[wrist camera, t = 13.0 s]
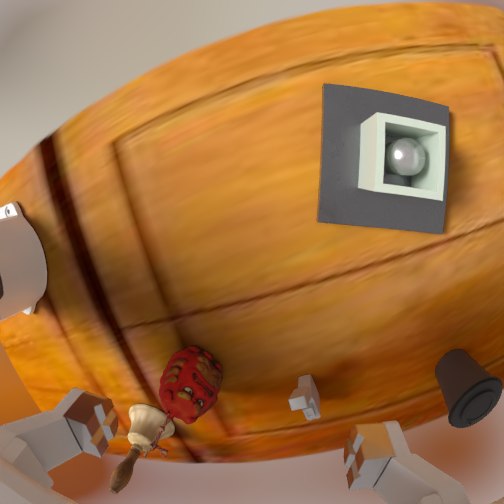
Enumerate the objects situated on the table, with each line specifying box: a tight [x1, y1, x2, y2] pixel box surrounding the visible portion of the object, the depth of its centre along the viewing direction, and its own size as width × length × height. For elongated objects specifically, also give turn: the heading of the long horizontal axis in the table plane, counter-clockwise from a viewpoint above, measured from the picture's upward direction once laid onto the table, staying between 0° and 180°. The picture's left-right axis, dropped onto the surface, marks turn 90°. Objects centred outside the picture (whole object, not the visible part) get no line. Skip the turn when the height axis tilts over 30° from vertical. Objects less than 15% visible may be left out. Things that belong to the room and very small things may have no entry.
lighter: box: [288, 374, 321, 420], centre depth 31 cm, size 7×2×8 cm, turn 23°
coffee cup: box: [435, 349, 502, 428], centre depth 28 cm, size 8×8×10 cm
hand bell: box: [109, 404, 175, 494], centre depth 34 cm, size 8×8×16 cm
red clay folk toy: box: [143, 345, 223, 457], centre depth 30 cm, size 8×7×15 cm
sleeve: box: [358, 112, 446, 201], centre depth 23 cm, size 6×6×6 cm
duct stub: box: [317, 83, 449, 234], centre depth 24 cm, size 14×14×6 cm
